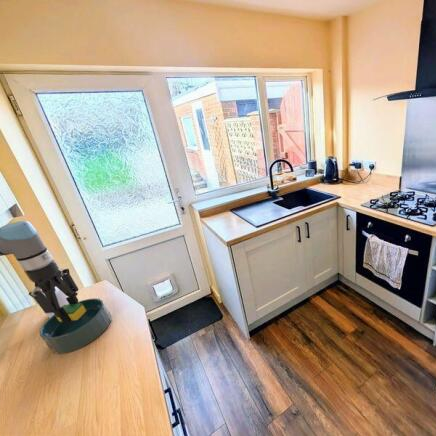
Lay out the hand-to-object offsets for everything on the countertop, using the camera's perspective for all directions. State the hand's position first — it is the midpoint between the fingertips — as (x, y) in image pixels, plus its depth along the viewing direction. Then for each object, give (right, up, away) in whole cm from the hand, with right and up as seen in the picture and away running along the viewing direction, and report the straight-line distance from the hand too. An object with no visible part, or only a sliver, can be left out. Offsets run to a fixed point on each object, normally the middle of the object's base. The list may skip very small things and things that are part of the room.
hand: (72, 315), depth 93 cm
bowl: (+1, -8, +4) cm, 9 cm away
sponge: (0, 0, 0) cm, 0 cm away
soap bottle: (-19, -5, +16) cm, 26 cm away
